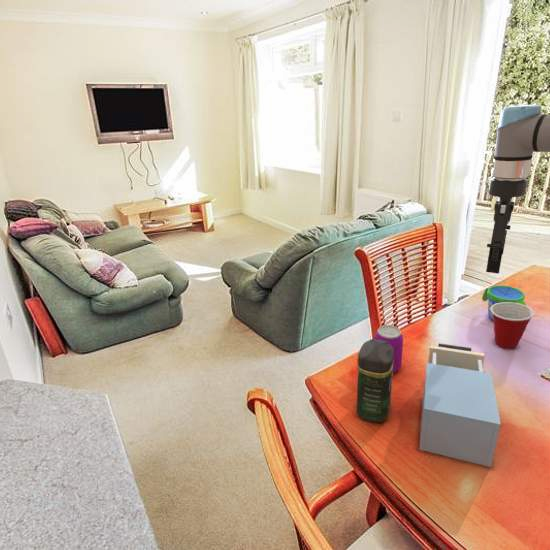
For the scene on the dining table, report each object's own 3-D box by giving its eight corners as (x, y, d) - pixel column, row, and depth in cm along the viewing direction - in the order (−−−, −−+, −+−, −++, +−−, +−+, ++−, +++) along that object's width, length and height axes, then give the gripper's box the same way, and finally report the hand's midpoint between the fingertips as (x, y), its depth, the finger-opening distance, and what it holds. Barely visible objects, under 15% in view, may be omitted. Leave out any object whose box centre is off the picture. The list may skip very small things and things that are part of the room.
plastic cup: (484, 331, 120) (490, 298, 115) (523, 337, 116) (531, 303, 111) (484, 350, 112) (491, 315, 107) (527, 357, 107) (536, 321, 102)
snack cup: (533, 328, 120) (540, 300, 115) (503, 333, 118) (509, 305, 114) (498, 305, 134) (503, 280, 130) (471, 310, 132) (475, 284, 128)
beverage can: (406, 364, 108) (409, 329, 103) (392, 378, 103) (395, 342, 98) (382, 354, 113) (383, 320, 108) (368, 367, 108) (369, 332, 103)
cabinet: (422, 400, 95) (426, 362, 90) (483, 412, 90) (491, 373, 85) (419, 449, 82) (424, 408, 77) (491, 467, 77) (500, 424, 72)
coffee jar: (386, 427, 88) (390, 363, 80) (353, 418, 91) (354, 356, 84) (393, 400, 96) (397, 339, 88) (362, 392, 99) (363, 333, 92)
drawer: (427, 362, 107) (430, 333, 103) (476, 370, 102) (482, 340, 98) (424, 413, 90) (428, 380, 86) (483, 426, 85) (490, 392, 81)
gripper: (495, 169, 98) (483, 245, 107) (485, 188, 79) (472, 278, 88) (529, 169, 94) (514, 248, 103) (527, 189, 76) (509, 284, 84)
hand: (494, 262), depth 95 cm, fingers open, 13 cm apart
